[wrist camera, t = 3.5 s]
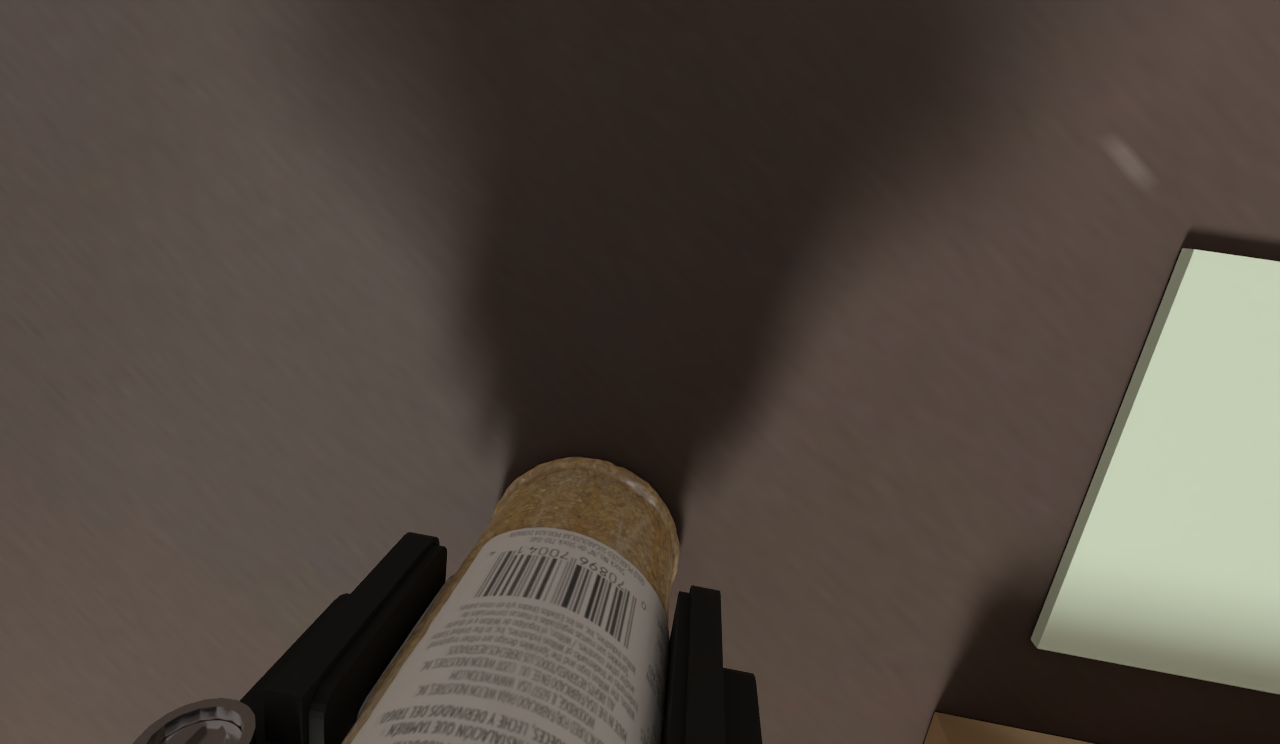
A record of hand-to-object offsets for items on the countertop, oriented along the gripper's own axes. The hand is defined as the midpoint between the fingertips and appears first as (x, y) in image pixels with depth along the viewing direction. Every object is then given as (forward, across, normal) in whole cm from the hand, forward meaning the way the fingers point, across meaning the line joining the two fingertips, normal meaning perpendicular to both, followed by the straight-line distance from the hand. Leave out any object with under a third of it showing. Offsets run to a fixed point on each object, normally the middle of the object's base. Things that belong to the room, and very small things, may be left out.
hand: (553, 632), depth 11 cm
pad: (+3, -15, -4) cm, 16 cm away
